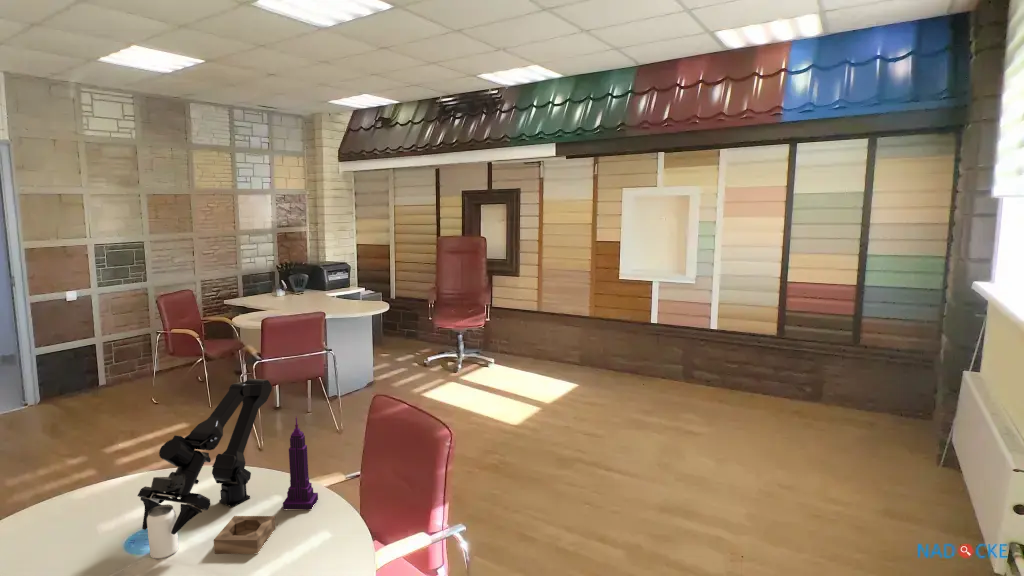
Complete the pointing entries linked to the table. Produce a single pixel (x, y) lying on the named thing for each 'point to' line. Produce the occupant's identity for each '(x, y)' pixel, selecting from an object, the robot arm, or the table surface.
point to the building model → (299, 475)
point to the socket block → (244, 535)
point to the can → (162, 531)
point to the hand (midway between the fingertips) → (158, 531)
